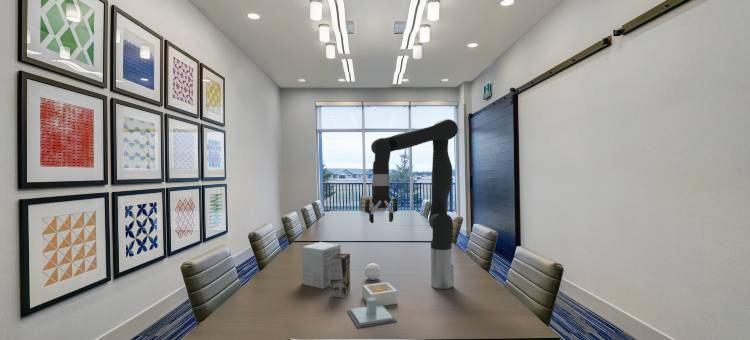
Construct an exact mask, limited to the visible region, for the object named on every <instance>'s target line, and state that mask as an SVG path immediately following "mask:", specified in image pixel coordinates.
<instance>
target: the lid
mask: <svg viewBox="0 0 750 340" xmlns="http://www.w3.org/2000/svg"><path fill="white" fill-rule="evenodd" d="M365 303H366V306H361V307H356V308H350V310H351V312H352V314H353V315H354V317H355V318H356V320H357V321H358V323H359V324H360V325H365V324H371V323H377V322H383V321H389V320H393V317H394V316H393V315H392V314H391V313H390V312H389V310H387V308H386V307H385V306H384V307H385V308H384V307H383V306H382V305H376V299H375V298H374V297H372V298H366V301H365ZM391 315H392V316H393V317H392V316H391Z"/></svg>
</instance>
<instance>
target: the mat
mask: <svg viewBox="0 0 750 340" xmlns="http://www.w3.org/2000/svg"><path fill="white" fill-rule="evenodd" d="M382 306H383V305H382ZM383 307H384V308H385V309H386V307H385V306H383ZM346 312H347V315H349V317H350V319H351V320H352V321H353V324H354V325H355V327H356V329H362V328H369V327H374V326H380V325H385V324H386V325H387V324H392V323H397V319H396V318H395V317H394V316H393V315H392V314H391V316H392V317H393V320H389V321H383V322H377V323H371V324H365V325H360V324H359V323H358V321H357V320H356V318H355V317H354V315H353V314H352V312H351V309H350V310H349V309H348V310H347V311H346Z"/></svg>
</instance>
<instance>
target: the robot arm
mask: <svg viewBox="0 0 750 340" xmlns="http://www.w3.org/2000/svg"><path fill="white" fill-rule="evenodd" d="M458 131H459V126H458V124H457V123H456V121H454V120H452V119H451V118H449V119H448V118H447V119H442V120H439V121H437V122H435V123H434V124H433V125H430V126H426V127H424V128H419V129H414V130H410V131H404V132H400V133H396V134H394V135H392V136H387V137H380V138H377V139H375V140H374V141H372V143H371V146H370V149H371V152H372V153H373V154H374V161H373V163H372V187H371V189H372V194H371V195H372V197H371V198H364V213H366V214H368V221H369V222H370V223H371V224H374V222H375V221H374V219H375V217H374V213H375V212H376V210H377V209H387V211H388V221H389V222H390V223H392V222H393V221H394V213H396V212H398V198H397V197H391V190H390V189H391V188H390V187H391V182H390V180H391V179H390V165H389V164H390V158H391V152H392V153H393V152H395V151H401V150H405V149H408V148H412V147H416V146H418V145H421V144H425V143H429V142H432V148H433V149H432V164H431V165H432V167H431V204H430V205H431V206H430V209H429V210H430V211H429V219H428V223H429V226H430V228H431V229H432V240H431V241H430V282H431V283H430V285H431V287H432V288H434V289H436V290H437V289H439V290H448V289H451V288H452V287H453V286H454V287H455V282H454V281H455V280H454V279H455V278H454V277H455V272H454V270H455V269H454V265H453V264H452V258H453V257H452V256H453V255H452V245H453V241H454V222H453V219H452V217H451V216H450V215H449V214H448V198H449V195H450V192H451V189H452V185H453V165H452V161H451V159H450V156H449V140H451V139H453V138H455V136H456V135H457V134H458ZM371 203H372V205H371V208H370V204H371ZM390 203H392V206H391V205H390Z"/></svg>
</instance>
